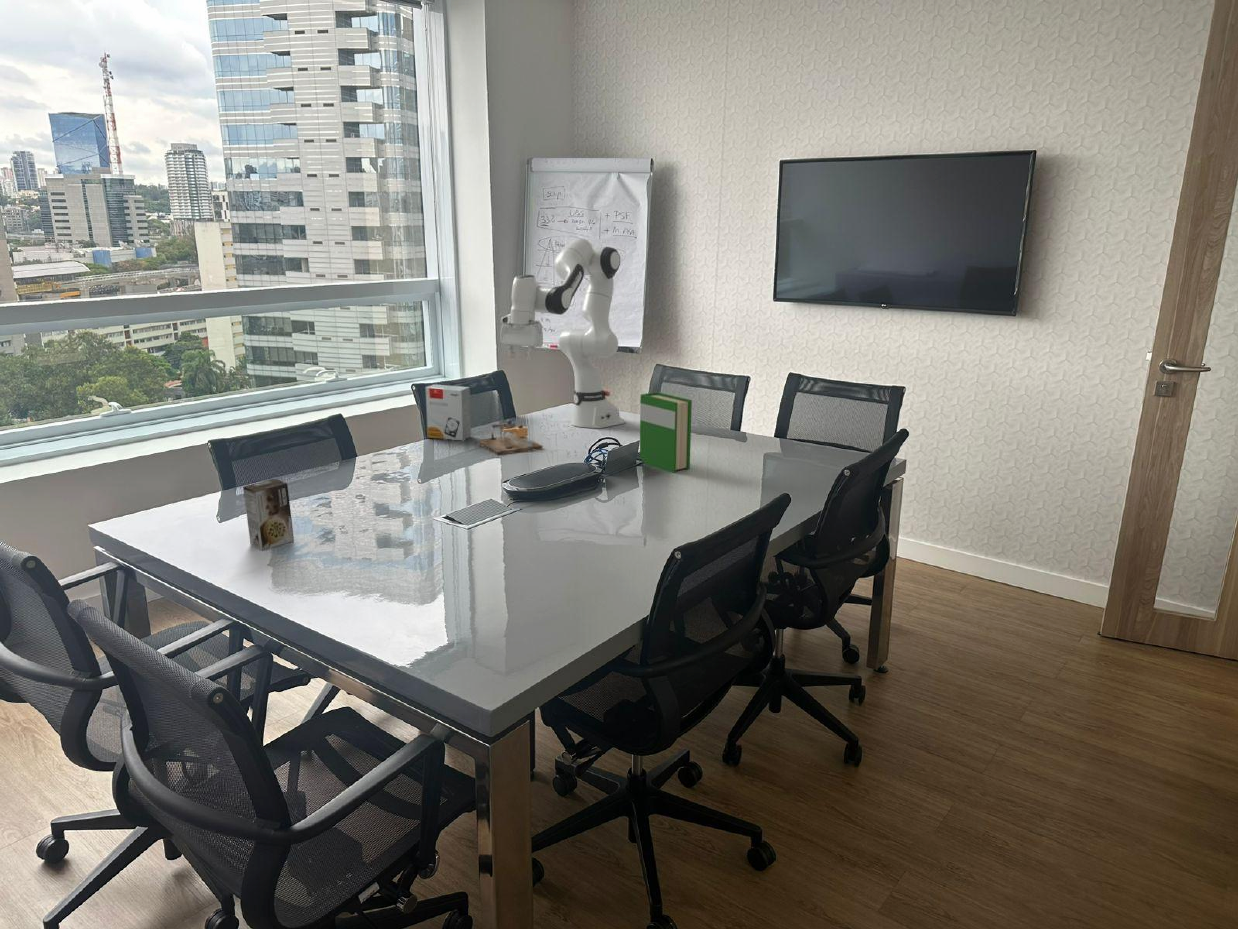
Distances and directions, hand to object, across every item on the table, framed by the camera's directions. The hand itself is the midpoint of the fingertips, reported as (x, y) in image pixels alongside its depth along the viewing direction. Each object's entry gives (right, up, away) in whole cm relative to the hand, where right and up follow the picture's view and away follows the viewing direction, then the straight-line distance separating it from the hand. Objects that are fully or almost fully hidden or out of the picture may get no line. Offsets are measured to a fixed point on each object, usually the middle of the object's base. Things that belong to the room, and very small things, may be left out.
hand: (520, 358), depth 315 cm
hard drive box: (-30, -29, +20) cm, 46 cm away
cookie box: (-55, -59, -89) cm, 120 cm away
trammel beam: (-4, -30, +9) cm, 32 cm away
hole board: (-5, -32, +9) cm, 33 cm away
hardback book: (+52, -39, -16) cm, 67 cm away
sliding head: (-3, -30, +7) cm, 31 cm away
